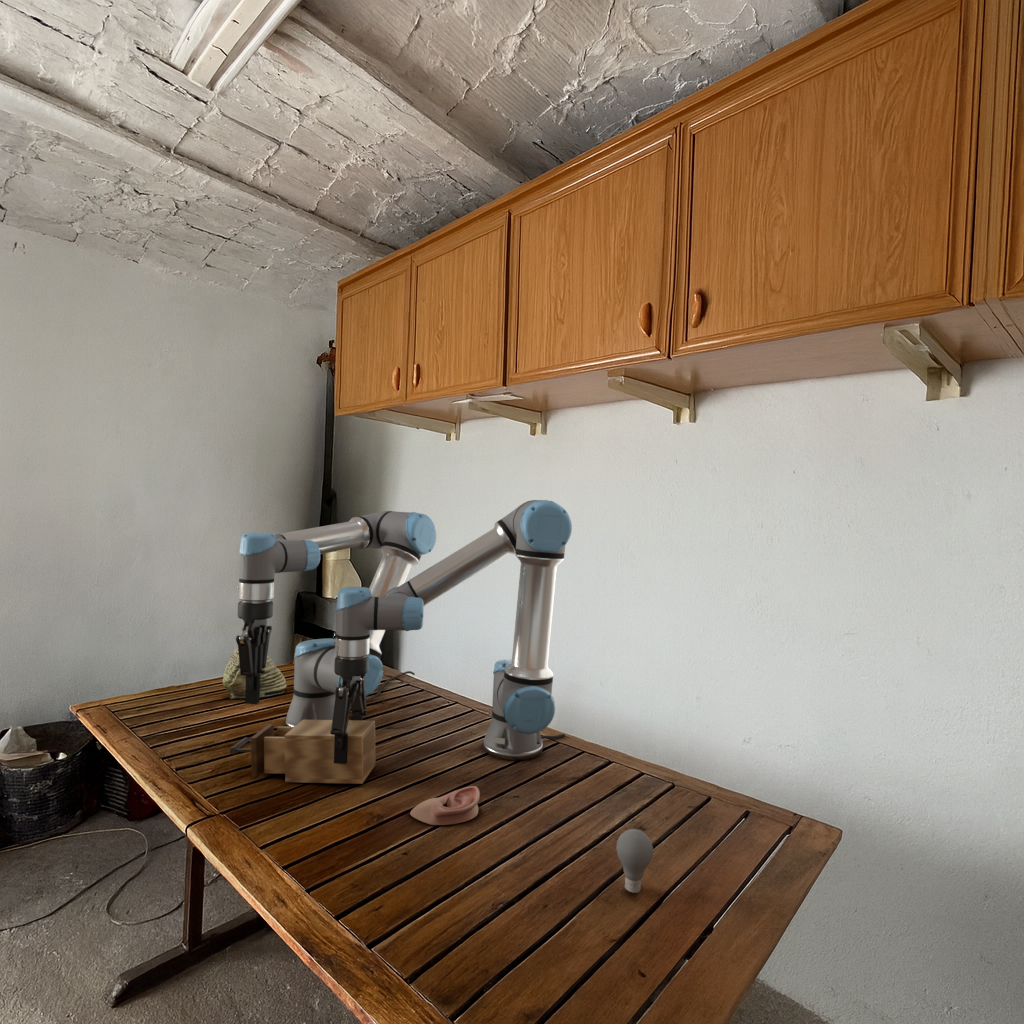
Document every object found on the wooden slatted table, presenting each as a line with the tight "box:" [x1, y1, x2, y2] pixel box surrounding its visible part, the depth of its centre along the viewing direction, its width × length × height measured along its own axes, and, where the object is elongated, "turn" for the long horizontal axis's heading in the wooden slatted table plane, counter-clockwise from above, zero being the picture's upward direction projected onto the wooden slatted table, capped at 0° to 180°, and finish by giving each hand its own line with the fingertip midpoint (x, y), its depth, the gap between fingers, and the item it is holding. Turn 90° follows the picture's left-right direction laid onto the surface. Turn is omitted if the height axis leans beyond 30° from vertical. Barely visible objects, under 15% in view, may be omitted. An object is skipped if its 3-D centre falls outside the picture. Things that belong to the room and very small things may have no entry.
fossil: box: [222, 647, 288, 699], centre depth 198 cm, size 9×18×15 cm, turn 132°
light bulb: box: [615, 828, 654, 894], centre depth 106 cm, size 6×6×10 cm
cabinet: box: [284, 719, 377, 785], centre depth 144 cm, size 17×10×10 cm, turn 86°
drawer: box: [229, 723, 294, 777], centre depth 145 cm, size 22×9×9 cm, turn 86°
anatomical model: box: [409, 785, 481, 826], centre depth 129 cm, size 13×4×12 cm
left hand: (252, 702), depth 145 cm, fingers closed
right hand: (348, 753), depth 144 cm, fingers closed on cabinet, 10 cm apart
